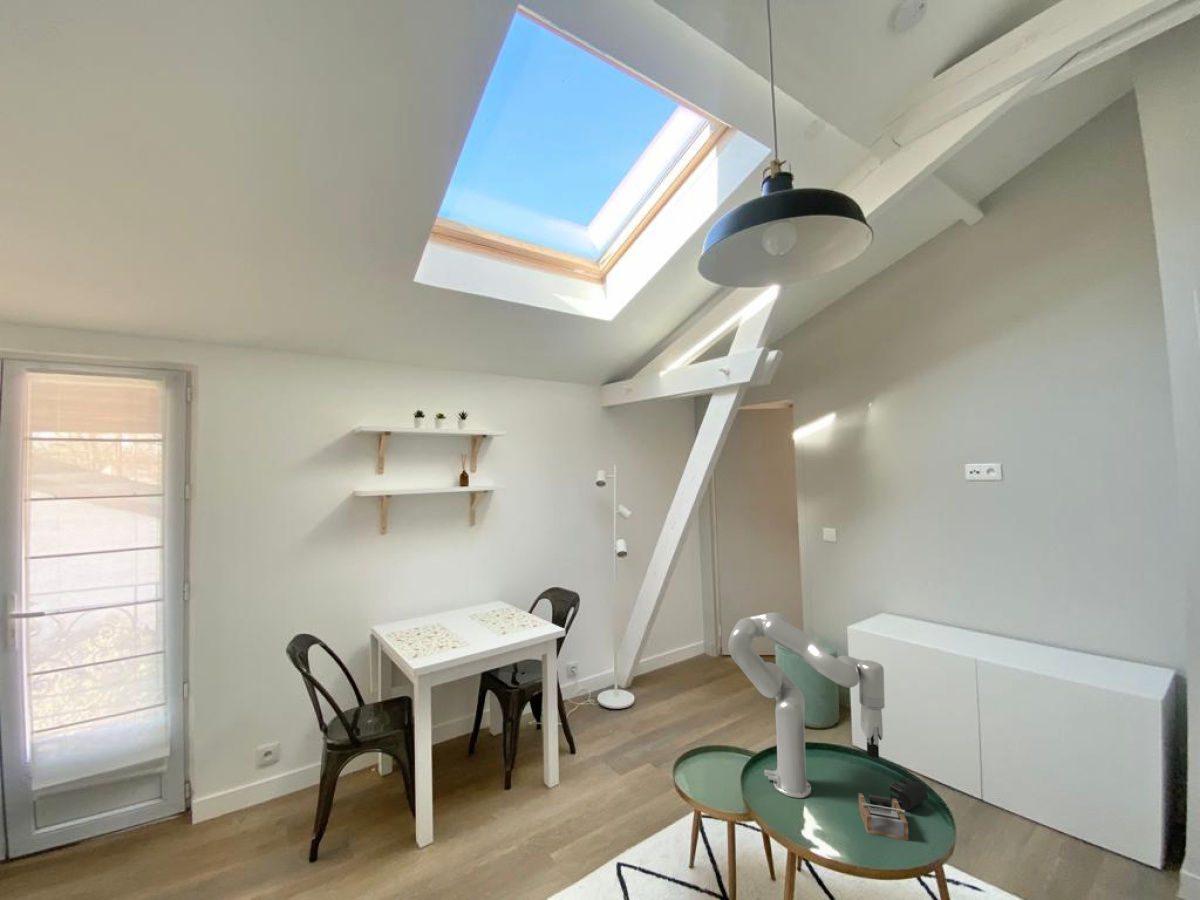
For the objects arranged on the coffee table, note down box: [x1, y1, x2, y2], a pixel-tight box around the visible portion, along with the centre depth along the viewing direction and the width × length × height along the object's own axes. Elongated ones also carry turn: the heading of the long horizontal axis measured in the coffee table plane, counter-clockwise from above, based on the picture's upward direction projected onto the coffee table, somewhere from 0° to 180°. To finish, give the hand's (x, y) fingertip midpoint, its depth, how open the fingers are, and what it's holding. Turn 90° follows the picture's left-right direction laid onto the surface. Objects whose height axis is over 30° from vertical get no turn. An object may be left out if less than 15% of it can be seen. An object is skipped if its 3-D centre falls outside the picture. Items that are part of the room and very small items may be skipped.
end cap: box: [889, 777, 928, 812], centre depth 166 cm, size 10×7×7 cm
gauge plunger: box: [862, 794, 906, 820], centre depth 157 cm, size 12×6×5 cm, turn 73°
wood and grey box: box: [858, 792, 910, 841], centre depth 156 cm, size 11×12×5 cm
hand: (872, 755), depth 166 cm, fingers closed
